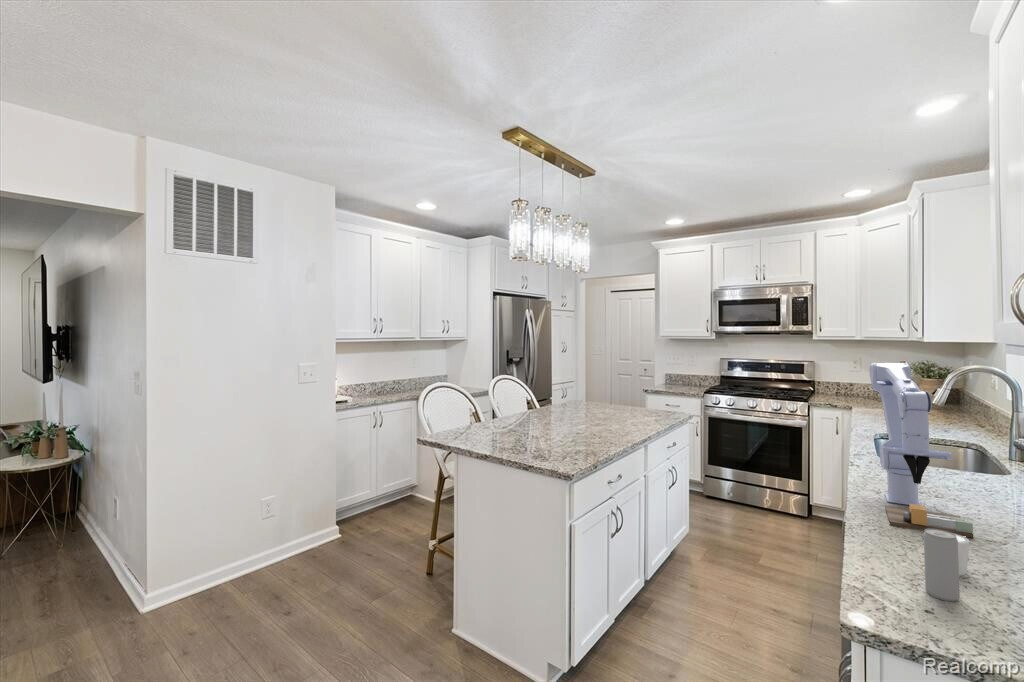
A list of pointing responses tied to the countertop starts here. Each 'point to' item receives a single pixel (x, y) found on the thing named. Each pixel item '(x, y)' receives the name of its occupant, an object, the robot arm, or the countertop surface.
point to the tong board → (929, 521)
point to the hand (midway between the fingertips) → (917, 482)
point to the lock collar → (918, 514)
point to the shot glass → (963, 554)
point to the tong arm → (946, 517)
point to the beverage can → (941, 564)
